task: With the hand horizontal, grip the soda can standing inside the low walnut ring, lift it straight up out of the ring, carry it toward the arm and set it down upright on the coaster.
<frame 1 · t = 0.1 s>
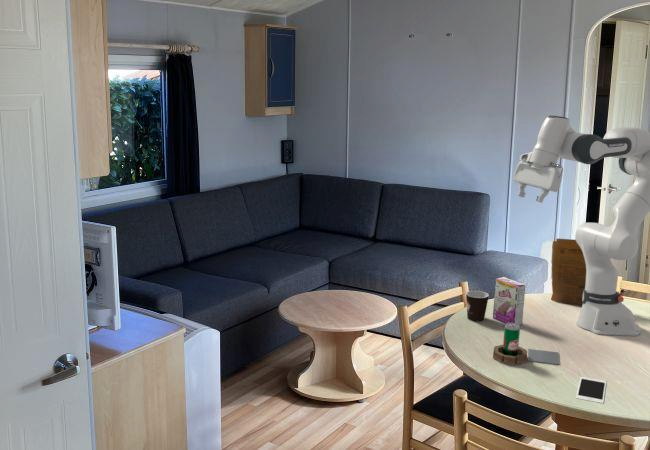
hand: (529, 199, 248), 52 cm above the table, tool tilted 20°, fingers open, 8 cm apart
walnut ring: (509, 357, 245), on the table
coffee mug: (475, 317, 283), on the table
coaster: (543, 357, 246), on the table
soda can: (509, 358, 245), resting in walnut ring
cell phone: (591, 391, 223), on the table
pancake mix bag: (571, 303, 300), on the table
candy bar box: (507, 322, 279), on the table
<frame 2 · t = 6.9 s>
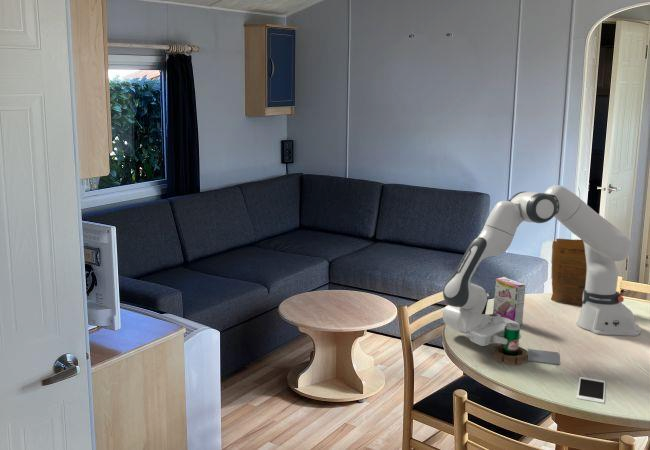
hand: (513, 339, 243), 7 cm above the table, tool horizontal, fingers closed on soda can, 5 cm apart
soda can: (509, 358, 245), resting in walnut ring, touching gripper
everything else where it was.
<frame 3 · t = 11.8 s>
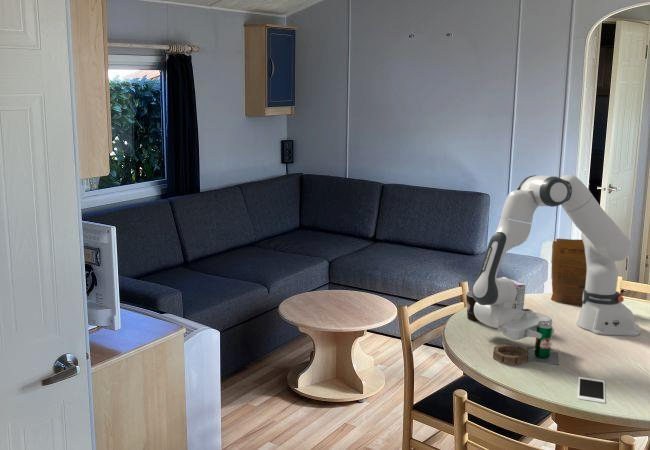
hand: (547, 333, 243), 9 cm above the table, tool horizontal, fingers closed on soda can, 5 cm apart
soda can: (541, 356, 246), resting on coaster, touching gripper
everything else where it was.
when the fingers open (9 cm above the table, at t = 12.3 s): soda can stays where it is, resting on coaster.
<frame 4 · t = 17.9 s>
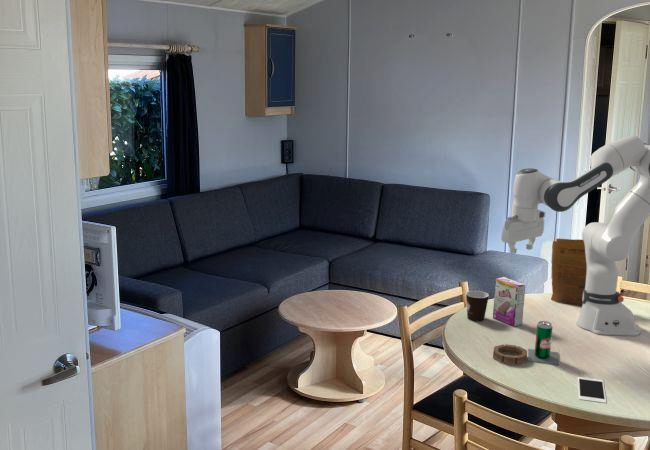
hand: (521, 251, 261), 31 cm above the table, tool pointing down, fingers open, 8 cm apart
soda can: (541, 356, 246), resting on coaster
everything else where it was.
at the end: soda can inside the target area on the coaster (0.5 cm from its centre), point 0.2 cm above the coaster's base; soda can tilted 0°; the gripper is holding nothing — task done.
